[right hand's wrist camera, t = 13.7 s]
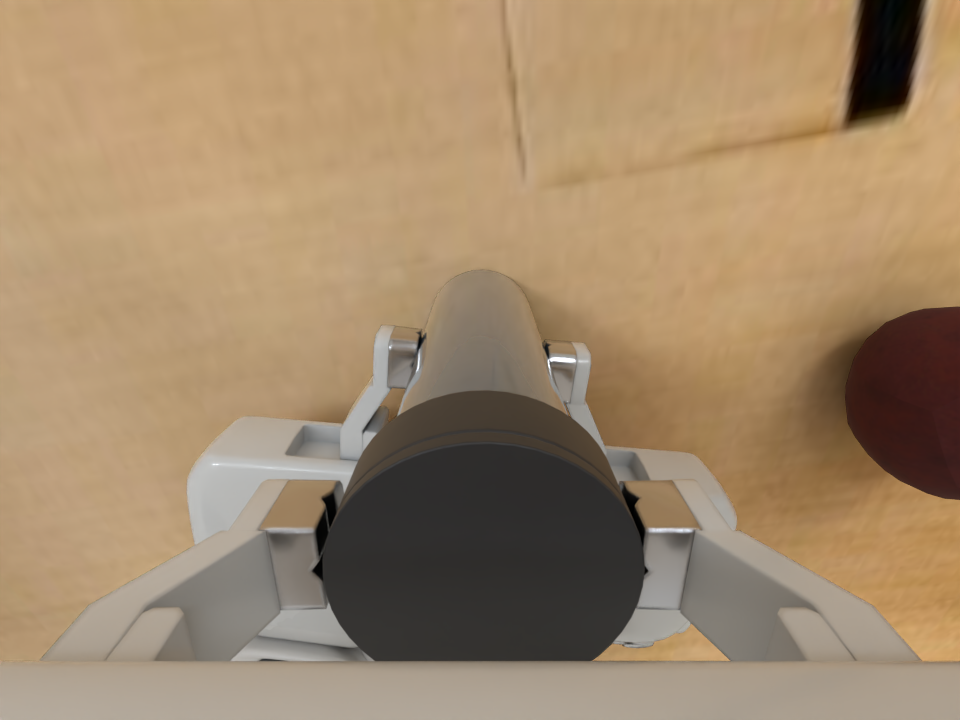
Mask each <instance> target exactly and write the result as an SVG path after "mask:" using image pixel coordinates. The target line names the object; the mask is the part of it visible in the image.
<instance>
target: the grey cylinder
mask: <svg viewBox="0 0 960 720" xmlns="http://www.w3.org/2000/svg"><path fill="white" fill-rule="evenodd" d="M481 390H491V391H502V392H509V393H514V394H519V395H523V396H527V397H530V398H533V399H536V400H539V401H542V402H544V403H546V404H548V405H550V406H552V407H554V408H556V409H558V410H560V411H562V412H563V413H565V414H566V415H568V414H567V411H566V408H565V405H564V402H563V399H562V396H561V394H560V391H559V388H558V385H557V382H556V379H555V376H554V374H553V371H552V368H551V365H550V362H549V359H548V356H547V354H546V351H545V348H544V345H543V342H542V339H541V336H540V333H539V331H538V328H537V325H536V322H535V319H534V316H533V313H532V311H531V308H530V305H529V302H528V300H527V297H526V296H525V294H524V292H523V291H522V289H521V288H520V287H519V286H518V285H517V284H516V283H515V282H514V281H513V280H511V279H510V278H508V277H506V276H505V275H503V274H500V273H497V272H494V271H489V270H474V271H468V272H465V273H462V274H460V275H458V276H456V277H454V278H453V279H451V280H450V281H449V282H447V283H446V284H445V285H444V286H443V288H442V289H441V290H440V292H439V293H438V295H437V296H436V298H435V301H434V304H433V306H432V309H431V313H430V316H429V319H428V322H427V325H426V328H425V331H424V334H423V337H422V340H421V343H420V346H419V349H418V352H417V355H416V358H415V361H414V364H413V367H412V370H411V373H410V376H409V380H408V383H407V386H406V389H405V392H404V395H403V398H402V401H401V404H400V407H399V410H398V413H397V416H398V415H400V414H401V413H403V412H405V411H407V410H408V409H410V408H412V407H414V406H416V405H418V404H420V403H423V402H425V401H428V400H430V399H433V398H436V397H440V396H444V395H447V394H451V393H458V392H465V391H481ZM397 416H396V417H397Z"/></svg>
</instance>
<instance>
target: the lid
mask: <svg viewBox="0 0 960 720" xmlns="http://www.w3.org/2000/svg"><path fill="white" fill-rule="evenodd" d="M644 572H645V562H644V550H643V546H642V542H641V538H640V534H639V532H638V530H637V527H636V525H635V522H634V520H633V518H632V515H631V513H630V511H629V508H628V506H627V504H626V501H625V499H624V497H623V494H622V492H621V490H620V487H619V485H618V483H617V480H616V478H615V476H614V473H613V471H612V469H611V466H610V464H609V462H608V460H607V457H606V456H605V454H604V453H603V451H602V449H601V448H600V446H599V444H598V443H597V442H596V441H595V440H594V438H593V437H592V436H591V435H590V434H589V433H588V431H586V430H585V429H584V428H583V427H582V426H581V425H580V424H579V423H578V422H576V421H575V420H574V419H572V418H571V417H569V416H568V415H566V414H565V413H563V412H562V411H560V410H558V409H556V408H554V407H552V406H550V405H548V404H546V403H544V402H542V401H539V400H536V399H533V398H530V397H527V396H523V395H519V394H514V393H509V392H502V391H491V390H481V391H465V392H458V393H451V394H447V395H444V396H440V397H436V398H433V399H430V400H428V401H425V402H423V403H420V404H418V405H416V406H414V407H412V408H410V409H408V410H407V411H405V412H403V413H401V414H400V415H398V416H397V417H396V418H394V419H393V420H392V421H390V422H389V423H388V424H386V425H385V426H384V427H383V428H382V429H381V430H380V431H379V432H378V433H377V434H376V435H375V436H374V437H373V438H372V440H371V441H370V443H369V444H368V445H367V447H366V448H365V449H364V451H363V453H362V455H361V456H360V458H359V460H358V462H357V464H356V466H355V469H354V471H353V474H352V476H351V479H350V481H349V484H348V486H347V488H346V491H345V493H344V496H343V498H342V501H341V503H340V506H339V508H338V510H337V513H336V516H335V518H334V520H333V523H332V525H331V528H330V531H329V534H328V537H327V540H326V543H325V548H324V554H323V581H324V586H325V592H326V596H327V599H328V601H329V604H330V607H331V610H332V612H333V614H334V615H335V617H336V619H337V621H338V623H339V625H340V626H341V627H342V629H343V630H344V631H345V633H346V634H347V635H348V637H349V638H350V639H351V640H352V641H353V642H354V643H355V644H356V645H357V646H358V647H359V648H360V649H361V650H362V651H363V652H364V653H365V654H367V655H368V656H369V657H370V658H372V659H373V660H374V661H592V660H594V659H595V658H596V657H598V656H599V655H600V654H601V653H602V652H604V651H605V650H606V649H607V648H608V647H609V646H610V645H611V644H612V643H613V642H614V641H615V640H616V638H617V637H618V636H619V635H620V634H621V633H622V632H623V630H624V628H625V627H626V625H627V624H628V622H629V621H630V619H631V618H632V616H633V613H634V611H635V609H636V607H637V605H638V602H639V599H640V595H641V592H642V588H643V581H644Z"/></svg>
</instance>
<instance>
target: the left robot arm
mask: <svg viewBox="0 0 960 720" xmlns="http://www.w3.org/2000/svg"><path fill="white" fill-rule="evenodd" d="M421 340H422V329H418V328H408V327H399V326H394V325H381V327H380V328H379V330H378V332H377V334H376V338H375V343H374V358H373V376H372V377H371V379H370V380H369V382H368V383H367V385H366V386H365V388H364V389H363V391H362V392H361V393H360V395H359V396H358V398H357V399H356V401H355V402H354V404H353V406H352V408H351V409H350V411H349V413H348V415H347V417H346V419H345V421H344V423H343V424H342V423H330V422H318V421H306V420H294V419H282V418H270V417H260V416H243V417H241V418H239V419H237V420H236V421H234V422H233V423H232V424H231V425H230V426H229V427H228V428H226V429H225V430H224V431H223V432H222V433H221V434H220V435H219V436H218V437H216V438H215V439H214V440H213V441H212V442H211V443H210V445H209V446H208V447H207V448H206V449H205V450H204V452H203V453H202V454H201V455H200V456H199V458H198V459H197V460H196V462H195V463H194V465H193V467H192V468H191V470H190V473H189V475H188V479H187V502H188V510H189V516H190V523H191V528H192V534H193V539H194V544H195V545H196V544H198V543H200V542H201V541H203V540H205V539H207V538H208V537H210V536H212V535H214V534H216V533H217V532H219V531H228V530H229V529H230V527H231V526H232V525H233V523H234V522H235V520H236V519H237V517H238V516H239V514H240V513H241V512H242V510H243V509H244V507H245V506H246V504H247V503H248V501H249V500H250V499H251V497H252V496H253V494H254V493H255V491H256V490H257V488H258V487H259V486H260V484H261V483H262V482H263V481H265V480H267V479H290V480H292V479H301V480H340V481H341V483H342V484H343V490H344V493H345V491H346V488H347V486H348V484H349V481H350V479H351V476H352V474H353V471H354V469H355V466H356V464H357V462H358V460H359V458H360V456H361V455H362V453H363V451H364V449H365V448H366V447H367V445H368V444H369V443H370V441H371V440H372V438H373V437H374V436H375V435H376V434H377V433H378V432H379V431H380V430H381V429H382V428H383V427H384V426H385V425H386V424H388V421H389V409H388V408H387V407H385V406H380V404H381V403H382V402H383V400H384V399H385V397H386V396H387V394H388V393H389V391H390V390H391V388H404V389H406V386H407V383H408V380H409V376H410V373H411V370H412V367H413V364H414V361H415V358H416V355H417V352H418V349H419V346H420V343H421ZM543 345H544V348H545V351H546V354H547V356H548V359H549V362H550V365H551V368H552V371H553V374H554V376H555V379H556V382H557V385H558V388H559V391H560V394H561V396H562V399H563V402H564V403H565V404H566V406H567V408H568V411H569V413H570V415H571V417H572V419H574V420H575V421H576V422H578V423H579V424H580V425H581V426H582V427H583V428H584V429H585V430H586V431H588V433H589V434H590V435H591V436H592V437H593V438H594V440H595V441H596V442H597V443H598V444H599V446H600V448H601V449H602V451H603V453H604V454H605V456H606V457H607V460H608V462H609V464H610V466H611V469H612V471H613V473H614V476H615V478H616V480H617V483H618V484H619V481H648V480H674V479H694V480H696V481H698V482H699V484H700V485H701V487H702V488H703V489H704V491H705V492H706V494H707V495H708V497H709V498H710V499H711V501H712V502H713V504H714V505H715V507H716V508H717V509H718V511H719V512H720V514H721V515H722V517H723V518H724V519H725V521H726V522H727V524H728V525H729V527H730V528H731V529H732V531H735V530H736V526H737V516H736V512H735V509H734V507H733V505H732V503H731V501H730V499H729V497H728V495H727V494H726V492H725V491H724V489H723V488H722V486H721V485H720V483H719V482H718V480H717V479H716V478H715V477H714V475H713V474H712V473H711V472H710V471H709V469H708V468H707V467H706V466H705V465H704V463H703V462H702V461H701V460H700V459H699V458H698V457H697V456H695V455H694V454H691V453H687V452H679V451H666V450H654V449H642V448H630V447H618V446H606V445H604V444H603V441H602V439H601V436H600V434H599V431H598V429H597V427H596V424H595V422H594V419H593V417H592V415H591V412H590V410H589V407H588V405H587V403H586V400H585V396H586V391H587V385H588V380H589V374H590V369H591V354H590V351H589V350H588V348H587V346H586V345H585V343H579V342H568V341H556V340H545V341H544V343H543ZM690 624H691V623H690V622H689V621H688V620H687V619H686V618H685V617H684V616H683V615H682V614H681V613H680V610H648V609H635V611H634V613H633V616H632V618H631V619H630V621H629V622H628V624H627V625H626V627H625V628H624V630H623V632H622V633H621V634H620V635H619V636H618V637H617V638H616V640H615V641H614V642H613V643H612V644H622V646H624V647H630V648H645V647H650V646H653V644H654V641H659V640H663V639H665V638H668V637H670V636H672V635H673V634H675V633H682V632H684V631H686V630H687V628H688V627H689V626H690ZM230 661H374V660H373V659H372V658H370V657H369V656H368V655H367V654H365V653H364V652H363V651H362V650H361V649H360V648H359V647H358V646H357V645H356V644H355V643H354V642H353V641H352V640H351V639H350V638H349V637H348V635H347V634H346V633H345V631H344V630H343V629H342V627H341V626H340V625H339V623H338V621H337V619H336V617H335V615H334V614H333V612H332V610H331V607H330V604H329V603H328V606H327V608H326V609H312V610H280V614H279V615H278V616H277V617H276V618H275V619H274V620H273V621H272V622H271V623H269V624H268V625H267V626H266V627H265V628H264V629H263V630H262V631H261V632H260V633H259V634H258V635H257V636H256V637H255V638H254V639H253V640H252V641H250V642H249V643H248V644H247V645H246V646H245V647H244V648H243V649H242V650H241V651H240V652H239V653H238V654H237V655H236V656H235V657H234V658H233V659H231V660H230Z"/></svg>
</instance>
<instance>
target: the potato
mask: <svg viewBox="0 0 960 720" xmlns="http://www.w3.org/2000/svg"><path fill="white" fill-rule="evenodd" d="M845 401H846V410H847V420H848V425H849V427H850V428H851V430H852V432H853V434H854V436H855V438H856V439H857V440H858V442H859V443H860V444H861V446H862V447H863V448H864V450H865V451H866V452H867V454H868V455H869V456H870V457H871V458H872V459H873V460H874V461H876V462H877V463H878V464H879V465H880V466H881V467H882V468H883V469H884V470H885V471H887V472H888V473H889V474H891V475H892V476H894V477H895V478H897V479H898V480H900V481H902V482H904V483H906V484H908V485H910V486H912V487H915V488H917V489H919V490H921V491H923V492H925V493H928V494H931V495H934V496H938V497H941V498H944V499H956V500H960V307H945V308H930V309H922V310H917V311H913V312H910V313H907V314H905V315H903V316H900V317H898V318H896V319H893V320H891V321H889V322H886V323H885V324H884V325H883V326H881V327H880V328H879V329H878V330H877V331H876V332H874V333H873V334H872V335H871V336H870V337H869V338H867V340H866V341H865V343H864V344H863V346H862V347H861V349H860V350H859V352H858V353H857V355H856V356H855V358H854V360H853V363H852V366H851V370H850V373H849V377H848V380H847V383H846V391H845Z"/></svg>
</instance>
